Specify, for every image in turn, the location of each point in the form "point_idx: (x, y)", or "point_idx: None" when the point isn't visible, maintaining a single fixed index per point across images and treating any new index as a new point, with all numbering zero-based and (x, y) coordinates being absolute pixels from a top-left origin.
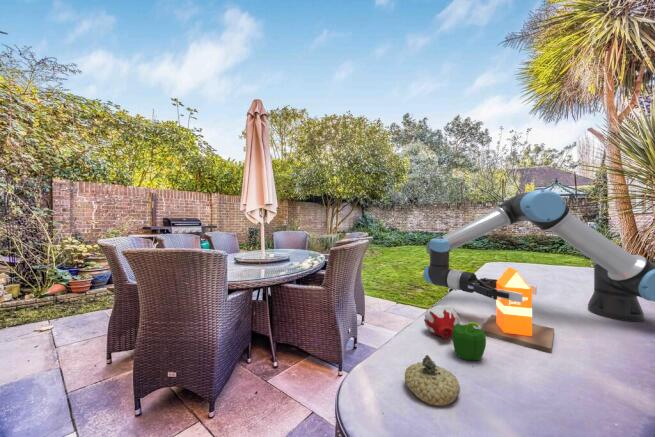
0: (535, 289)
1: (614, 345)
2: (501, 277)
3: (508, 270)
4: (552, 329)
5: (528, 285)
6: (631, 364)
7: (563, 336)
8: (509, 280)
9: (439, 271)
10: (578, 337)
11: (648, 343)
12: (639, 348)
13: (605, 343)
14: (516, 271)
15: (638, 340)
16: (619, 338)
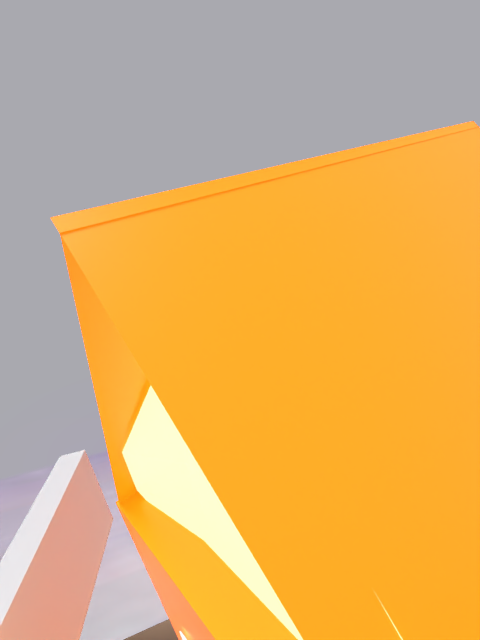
0: (94, 475)
1: (114, 492)
2: (470, 627)
3: (293, 262)
4: (149, 634)
5: (52, 504)
6: None
7: (150, 606)
8: (246, 558)
9: None
10: (113, 570)
11: (28, 473)
12: (92, 465)
13: (114, 507)
14: (476, 134)
15: (14, 488)
16: (25, 512)
